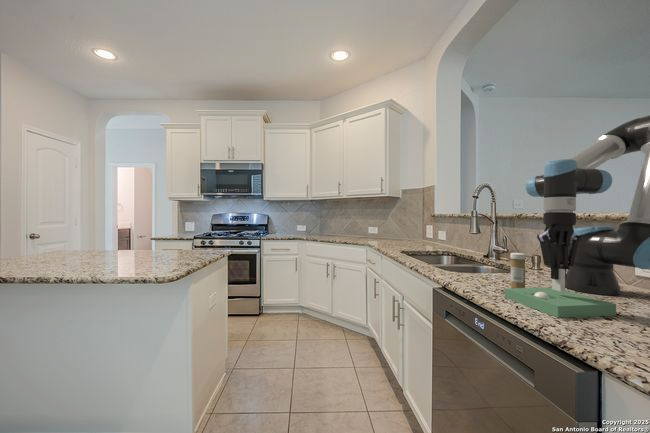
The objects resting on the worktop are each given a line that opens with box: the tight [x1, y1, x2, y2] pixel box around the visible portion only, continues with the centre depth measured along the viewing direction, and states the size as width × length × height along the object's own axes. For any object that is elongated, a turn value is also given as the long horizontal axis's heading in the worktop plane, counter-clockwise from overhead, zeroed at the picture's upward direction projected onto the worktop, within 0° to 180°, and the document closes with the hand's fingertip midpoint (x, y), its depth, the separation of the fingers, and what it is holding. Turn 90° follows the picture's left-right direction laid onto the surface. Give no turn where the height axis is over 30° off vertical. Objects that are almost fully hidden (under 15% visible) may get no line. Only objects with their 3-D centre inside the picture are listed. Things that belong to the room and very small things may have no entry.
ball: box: [534, 292, 550, 299], centre depth 82 cm, size 4×4×4 cm
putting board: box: [504, 286, 617, 319], centre depth 83 cm, size 18×18×3 cm
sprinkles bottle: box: [509, 252, 527, 288], centre depth 100 cm, size 5×5×14 cm
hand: (558, 290), depth 83 cm, fingers closed
